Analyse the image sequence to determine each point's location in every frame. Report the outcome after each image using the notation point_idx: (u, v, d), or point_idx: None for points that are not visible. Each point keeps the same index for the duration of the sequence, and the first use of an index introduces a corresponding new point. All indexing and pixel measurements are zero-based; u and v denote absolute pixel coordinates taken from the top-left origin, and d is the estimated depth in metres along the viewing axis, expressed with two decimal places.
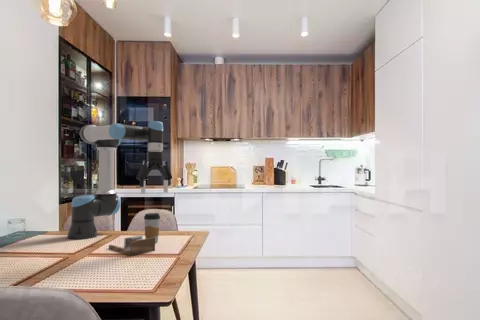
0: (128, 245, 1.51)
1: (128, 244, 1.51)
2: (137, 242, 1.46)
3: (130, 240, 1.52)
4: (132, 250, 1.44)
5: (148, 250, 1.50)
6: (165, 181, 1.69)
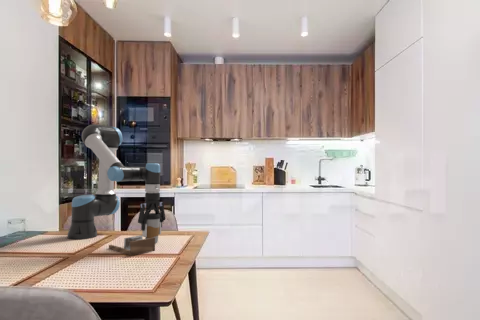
0: (128, 245, 1.51)
1: (128, 244, 1.51)
2: (137, 242, 1.46)
3: (130, 240, 1.52)
4: (132, 250, 1.44)
5: (148, 250, 1.50)
6: None
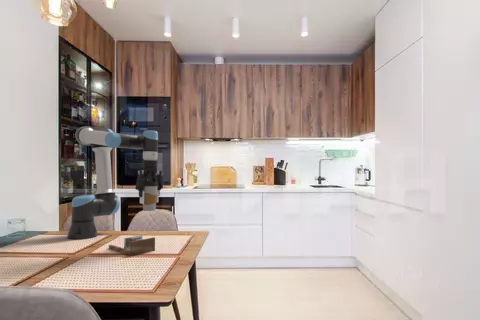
0: (128, 245, 1.51)
1: (128, 244, 1.51)
2: (137, 242, 1.46)
3: (130, 240, 1.52)
4: (132, 250, 1.44)
5: (148, 250, 1.50)
6: None
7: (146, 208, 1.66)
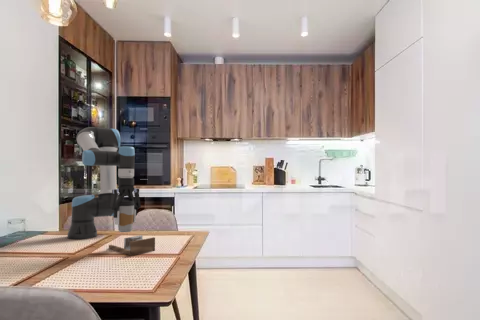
0: (128, 245, 1.51)
1: (128, 244, 1.51)
2: (137, 242, 1.46)
3: (130, 240, 1.52)
4: (132, 250, 1.44)
5: (148, 250, 1.50)
6: None
7: (121, 229, 1.55)
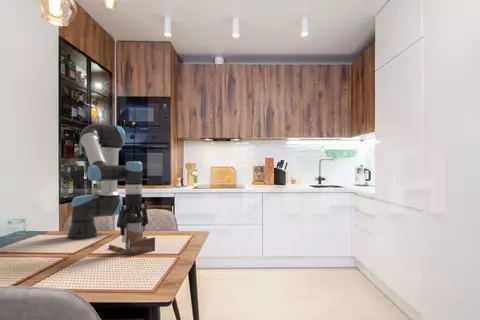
0: None
1: None
2: (137, 242, 1.46)
3: None
4: (132, 250, 1.44)
5: (148, 250, 1.50)
6: None
7: None
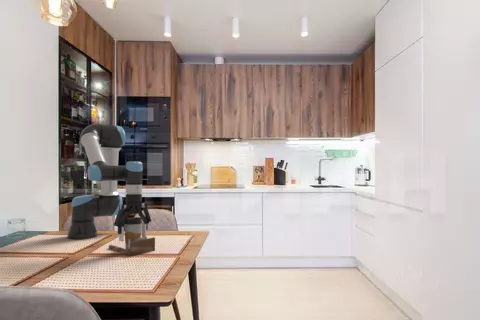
0: None
1: None
2: (137, 242, 1.46)
3: None
4: (132, 250, 1.44)
5: (148, 250, 1.50)
6: (143, 225, 1.59)
7: None
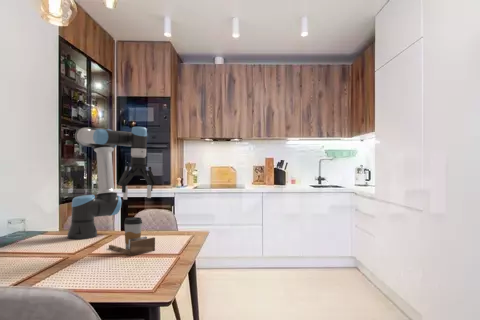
0: None
1: None
2: (137, 242, 1.46)
3: None
4: (132, 250, 1.44)
5: (148, 250, 1.50)
6: (148, 186, 1.69)
7: None
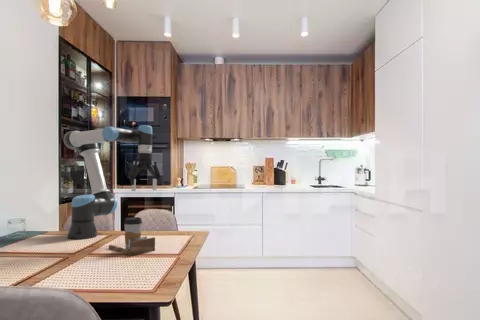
0: None
1: None
2: (137, 242, 1.46)
3: None
4: (132, 250, 1.44)
5: (148, 250, 1.50)
6: (154, 180, 1.85)
7: None
